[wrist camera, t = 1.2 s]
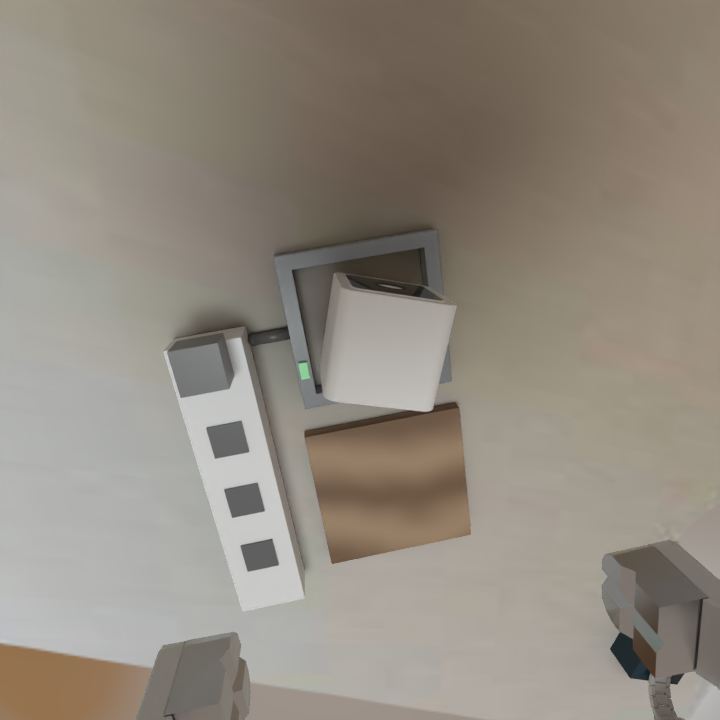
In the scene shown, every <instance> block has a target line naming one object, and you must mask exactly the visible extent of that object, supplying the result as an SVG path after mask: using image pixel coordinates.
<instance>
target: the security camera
mask: <svg viewBox="0 0 720 720" xmlns="http://www.w3.org/2000/svg"><path fill="white" fill-rule="evenodd" d="M456 308H457V305H456V304H455V303H454V302H452V301H451V300H449V299H448V298H446V297H445V296H443V295H442V294H440V293H439V292H437V291H435V290H434V289H432V288H430V287H427V286H422V285H417V284H411V283H404V282H398V281H391V280H385V279H378V278H372V277H366V276H359V275H353V274H346V273H334V275H333V281H332V288H331V294H330V301H329V308H328V314H327V321H326V327H325V334H324V340H323V347H322V353H321V360H320V375H321V383H322V391H323V396H324V397H325V398H326V399H328V400H330V401H334V402H340V403H349V404H359V405H368V406H377V407H386V408H395V409H404V410H413V411H422V412H428V411H431V410H432V409H433V407H434V402H435V398H436V394H437V390H438V385H439V381H440V377H441V372H442V368H443V364H444V359H445V355H446V351H447V347H448V342H449V338H450V334H451V329H452V325H453V321H454V316H455V312H456Z"/></svg>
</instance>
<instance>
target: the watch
mask: <svg viewBox="0 0 720 720" xmlns="http://www.w3.org/2000/svg"><path fill="white" fill-rule="evenodd" d="M610 650H611V651H612V653H613V654H614V655H615V657H616V658H617V660H618V661H619V663H620V664H621V666H622V667H623V668H624V670H625V671H626V673H627V674H628V676H629V677H630V678H633V679H641V680H648V681H649V682H648V683H649V685H648V690H649V698H650V703H651V707H652V708H653V709H652V710H653V713H654V720H684V719H683V718H679V719H678V717H677V715H676V713H675V711H673V710H674V707H673V704H672V701H671V699H668V698H671V694H670V688H669V687H670V684H678V682H679V681H680V679H681V678H682V676H683V675H684V673H682V674H677V675H672V676H667V677H662V678H656V679H655V678H654V677H653V675H652V674H651V673H650V671H649V670H648V669H647V667H646V666H645V665H644V663H643V662H642V661H641V660H640V658H639V657H638V656H637V654H636V653H635V652H634V650H633V639H632V638H630V637H628V636H627V635H625V634H623V633H621V632H620V633H619V635H618V637H617V639H616V640H615V642H614V644H613V645H612V647H611V649H610ZM695 672H696V671H695ZM714 686H715V685H714ZM717 688H718V687H717ZM718 689H719V690H720V688H718ZM655 692H657V693H655ZM661 693H664V694H661ZM652 696H653V697H652ZM662 705H665V706H662Z"/></svg>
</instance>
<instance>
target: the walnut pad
mask: <svg viewBox="0 0 720 720" xmlns="http://www.w3.org/2000/svg"><path fill="white" fill-rule="evenodd" d="M305 441H306V446H307V450H308V455H309V460H310V464H311V469H312V473H313V478H314V483H315V487H316V492H317V497H318V501H319V506H320V511H321V515H322V520H323V525H324V529H325V534H326V539H327V543H328V548H329V553H330V557H331V562H332V564H334V563H339V562H343V561H348V560H353V559H358V558H362V557H367V556H372V555H376V554H381V553H386V552H391V551H395V550H400V549H405V548H410V547H414V546H419V545H424V544H428V543H433V542H438V541H443V540H447V539H452V538H457V537H461V536H466V535H471V531H470V520H469V509H468V498H467V487H466V477H465V466H464V455H463V444H462V433H461V423H460V412H459V407H458V406H457V404H456V403H450V404H445V405H440V406H434V407H433V409H432V410H431V411H428V412H422V411H408V412H403V413H398V414H393V415H388V416H383V417H377V418H372V419H367V420H362V421H357V422H352V423H346V424H341V425H336V426H331V427H326V428H321V429H315V430H310V431H305Z"/></svg>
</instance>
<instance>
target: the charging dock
mask: <svg viewBox="0 0 720 720" xmlns="http://www.w3.org/2000/svg"><path fill="white" fill-rule="evenodd" d="M417 248H419V249H420V258H421V268H422V277H423V286H427V287H430V288H432V289H434V290H435V291H437V292H439V293H440V294H442V295H443V296H444V294H443V283H442V273H441V263H440V252H439V242H438V231H437V229H432V228H431V229H425V230H419V231H413V232H407V233H401V234H396V235H390V236H384V237H378V238H372V239H366V240H360V241H354V242H348V243H342V244H336V245H330V246H324V247H319V248H313V249H307V250H301V251H295V252H289V253H283V254H277V255H274V257H273V258H274V263H275V268H276V273H277V277H278V282H279V287H280V292H281V297H282V301H283V306H284V311H285V316H286V320H287V325H288V330H289V335H290V339H291V344H292V349H293V354H294V358H295V363H296V368H297V373H298V377H299V382H300V387H301V392H302V397H303V401H304V406H305V409H309V408H314V407H319V406H325V405H330V404H335V403H340V402H334V401H330V400H328V399H326V398H325V397H324V396H323V391H322V385H321V386H315V381H314V376H313V371H312V366H311V361H310V356H309V351H308V346H307V341H306V336H305V331H304V326H303V321H302V316H301V311H300V306H299V300H298V295H297V290H296V285H295V280H294V275H293V270H295V269H301V268H306V267H312V266H318V265H324V264H330V263H336V262H341V261H347V260H353V259H359V258H365V257H371V256H377V255H382V254H388V253H394V252H400V251H406V250H412V249H417ZM451 381H452V377H451V367H450V356H449V346H448V347H447V351H446V355H445V359H444V364H443V368H442V372H441V377H440V381H439V384H440V383H446V382H451Z"/></svg>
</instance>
